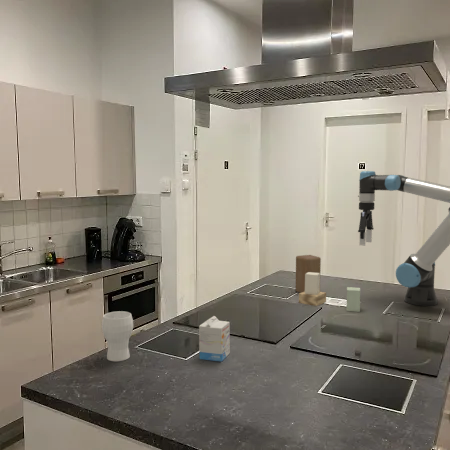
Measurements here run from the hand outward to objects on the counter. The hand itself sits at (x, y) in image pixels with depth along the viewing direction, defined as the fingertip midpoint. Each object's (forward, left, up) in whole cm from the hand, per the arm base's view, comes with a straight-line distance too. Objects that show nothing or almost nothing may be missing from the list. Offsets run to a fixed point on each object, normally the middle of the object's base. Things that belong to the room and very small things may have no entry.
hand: (365, 243), depth 235 cm
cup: (+56, +121, -29) cm, 137 cm away
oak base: (+21, +19, -29) cm, 41 cm away
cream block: (+21, +19, -24) cm, 37 cm away
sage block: (0, +22, -29) cm, 36 cm away
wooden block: (+30, +1, -29) cm, 42 cm away
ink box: (+27, +104, -29) cm, 111 cm away
